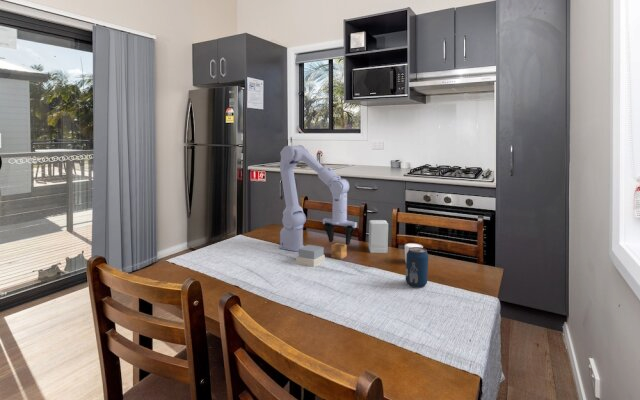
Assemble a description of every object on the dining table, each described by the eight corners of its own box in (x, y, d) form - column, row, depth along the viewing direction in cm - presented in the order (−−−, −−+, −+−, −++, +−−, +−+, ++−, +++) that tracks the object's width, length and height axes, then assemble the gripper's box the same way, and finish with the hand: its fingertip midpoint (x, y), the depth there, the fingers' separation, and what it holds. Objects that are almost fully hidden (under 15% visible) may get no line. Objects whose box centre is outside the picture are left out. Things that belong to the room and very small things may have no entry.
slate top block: (298, 256, 150) (298, 248, 150) (308, 251, 156) (308, 244, 156) (314, 259, 147) (314, 251, 146) (323, 254, 153) (323, 247, 152)
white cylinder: (422, 266, 147) (423, 248, 146) (403, 265, 148) (404, 247, 147) (421, 260, 154) (422, 243, 153) (403, 259, 155) (404, 242, 154)
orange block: (331, 257, 158) (331, 245, 157) (336, 254, 162) (337, 242, 161) (341, 259, 156) (341, 246, 155) (346, 256, 160) (346, 244, 159)
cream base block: (296, 264, 150) (296, 256, 150) (307, 258, 157) (307, 251, 157) (313, 267, 146) (313, 260, 146) (324, 262, 153) (324, 254, 153)
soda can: (423, 280, 133) (425, 246, 131) (429, 288, 126) (431, 252, 124) (403, 280, 133) (404, 246, 131) (408, 288, 126) (409, 252, 124)
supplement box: (387, 253, 163) (388, 223, 161) (369, 253, 164) (370, 223, 161) (385, 248, 171) (386, 219, 169) (368, 248, 171) (368, 219, 169)
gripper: (318, 209, 156) (318, 242, 158) (351, 213, 148) (351, 248, 151) (327, 206, 162) (327, 238, 164) (359, 210, 154) (359, 243, 157)
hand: (339, 243), depth 158 cm, fingers open, 7 cm apart
